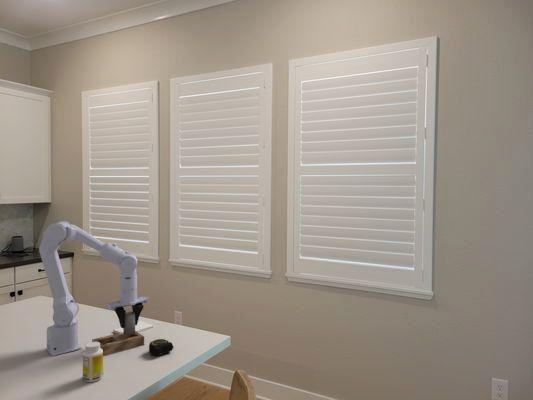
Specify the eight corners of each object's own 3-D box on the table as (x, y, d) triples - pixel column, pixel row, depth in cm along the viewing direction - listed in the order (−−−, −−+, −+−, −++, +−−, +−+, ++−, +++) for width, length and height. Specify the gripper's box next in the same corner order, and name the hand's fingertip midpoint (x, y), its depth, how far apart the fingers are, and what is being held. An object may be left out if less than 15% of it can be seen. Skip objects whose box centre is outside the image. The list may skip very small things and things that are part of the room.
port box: (101, 356, 134) (100, 346, 134) (92, 347, 141) (92, 338, 141) (144, 344, 144) (144, 336, 144) (133, 337, 151) (133, 329, 150)
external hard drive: (152, 329, 161) (125, 338, 151) (140, 324, 166) (113, 333, 156) (152, 325, 161) (125, 334, 151) (140, 320, 166) (113, 329, 156)
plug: (124, 335, 142) (124, 315, 141) (122, 331, 145) (122, 312, 145) (136, 333, 144) (136, 314, 143) (133, 329, 147) (133, 310, 147)
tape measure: (155, 359, 133) (155, 347, 132) (145, 352, 138) (145, 342, 137) (173, 353, 137) (173, 342, 137) (163, 347, 142) (163, 336, 142)
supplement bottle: (105, 373, 122) (105, 340, 121) (99, 382, 116) (99, 347, 116) (86, 374, 121) (86, 340, 121) (79, 383, 116) (79, 348, 115)
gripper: (112, 294, 136) (112, 333, 137) (152, 287, 146) (152, 324, 146) (104, 289, 142) (105, 328, 142) (144, 283, 151) (144, 319, 152)
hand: (128, 325), depth 144 cm, fingers closed on plug, 4 cm apart
